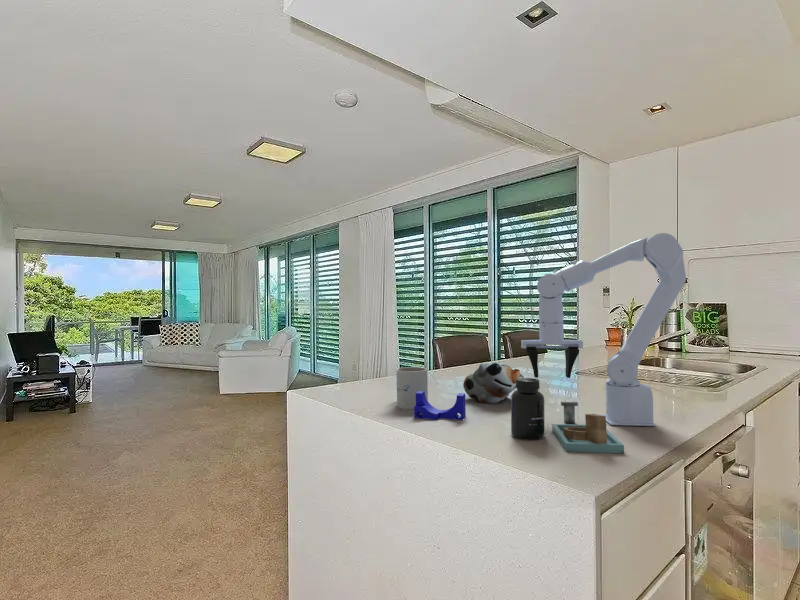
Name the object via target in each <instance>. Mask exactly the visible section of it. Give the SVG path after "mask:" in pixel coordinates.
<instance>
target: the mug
mask: <svg viewBox="0 0 800 600" xmlns="http://www.w3.org/2000/svg"><path fill="white" fill-rule="evenodd" d="M428 380H429V379H428V368H426V367H419V366H417V367H416V366H408V367H405V366H404V367H399V368H396V406H397V408H400V409H403V410H405V409H406V410H414V406H415V405H416V393H417V392H418V391H425V396H426V399H427V401H428V402H429V392H428V391H429V390H428V388H429V387H428V382H429V381H428Z"/></svg>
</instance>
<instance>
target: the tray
mask: <svg viewBox="0 0 800 600" xmlns="http://www.w3.org/2000/svg"><path fill="white" fill-rule="evenodd" d="M551 426H552V427H551V428H552V429H551V430H552V433H553V434H554V436H555V437H556V439H557V440H558V442H559V443H560V444H561V447H562V448H563V450H564V451H565V452H573V453H574V452H575V453H577V452H578V453H599V452H600V453H602V454H603V453H604V454H605V453H608V454H625V445H624V444H623V443H622V442H621V441H620V440H619V439H618V438H617V437H616V436H615V435H614V434H612V433H611V432H610V431H609V430H608V429H607V428H606V431H607V443H595V442H591V441H586V440H573V439H568V438H566V437H565V436H564V433H563V429H564V427H586V424H567V423H563V424H562V423H552V424H551Z"/></svg>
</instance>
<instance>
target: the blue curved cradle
mask: <svg viewBox="0 0 800 600" xmlns="http://www.w3.org/2000/svg"><path fill="white" fill-rule="evenodd" d="M466 413H467V411H466V392H463V393H462V392H459V393H458V394H457V395H456V399H455V402H454V405H453V406H452V407H451V408H447V409H438V408H437V407H434V406H433V405H432V404H431V403H430V402H429V400H428V401H427V399H426V396H425V391H418V392H417V393H416V405H415V406H414V409H413V417H414V419H424V420H439V419H445V420H447V419H448V420H459V421H460V420H461V421H462V420H463V419H464V420H465V418H466V416H467V414H466ZM464 420H463V421H464Z"/></svg>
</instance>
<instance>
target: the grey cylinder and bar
mask: <svg viewBox="0 0 800 600" xmlns="http://www.w3.org/2000/svg"><path fill="white" fill-rule="evenodd" d="M560 406H561V407H563V424H573V425H576V411H575V410H576V408H575V407H579V404H578V402H577V401H560Z"/></svg>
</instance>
